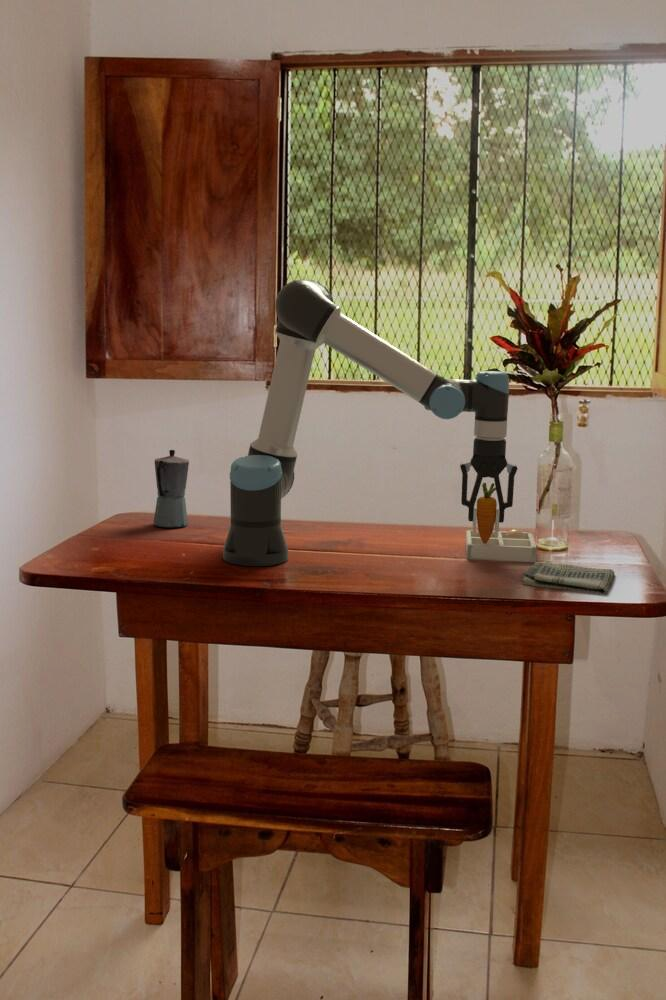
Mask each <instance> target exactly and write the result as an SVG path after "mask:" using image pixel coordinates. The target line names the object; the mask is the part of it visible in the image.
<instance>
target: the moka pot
mask: <svg viewBox="0 0 666 1000" xmlns="http://www.w3.org/2000/svg"><path fill="white" fill-rule="evenodd" d="M168 452H169V455H167V456H163V457H158V458H155V459H154V471H155V479H156V490H157V498H156V503H155V510H154V516H153V525H154V526H155V527H161V528H181V527H186V526H188V524H189V521H188V513H187V504H186V497H185V496H186V489H187V481H188V473H189V465H190V460H189V459H186V458H182V457H179V456H175V453H176V450H175V449H170V450H169V451H168Z"/></svg>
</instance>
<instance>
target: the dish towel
mask: <svg viewBox="0 0 666 1000" xmlns="http://www.w3.org/2000/svg"><path fill="white" fill-rule="evenodd" d="M522 575H523V576H524V577H523V579H522V584H521V585H522V586H529V587H530V586H531V587H537V588H548V589H555V590H563V591H564V590H567V591H573V592H579V593H580V592H581V593H588V594H589V593H591V594H596V595H606V594H607V593H608V590H609V589H610V587H611V584H612V582H613V580H614V577H615V571H614V569H612V568H611V569H609V568H595V567H594V568H593V567H585V566H580V565H573V564H563V563H562V564H561V563H555V562H554V563H553V562H550V561H546V560H544V561H543V562H541V561H536V562H534V564H533V565H532V566H530V567H529V568H528V569H527V570H526V571H524V572H523V574H522Z"/></svg>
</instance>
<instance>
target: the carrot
mask: <svg viewBox="0 0 666 1000" xmlns="http://www.w3.org/2000/svg"><path fill="white" fill-rule="evenodd" d="M481 486H482V492H483V496H480V497H478V498H477V499H476V507H477V520H476V525H477V530H478V531H479V535H480V537H481V540H482V542H483V543H484V544H486V543H487V542H488V540H489V538H490V537H491V534H492V532H493V531H494V529H495V518H496V508H498V507H497V505H498V503H497V502H498V501H497V499H496V498H495V497H493V496H492V494H494V492H495V491H496V487H495V482H493V483H491V485H490V487H489V489H488V488H487V482H483V483H482V485H481Z"/></svg>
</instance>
